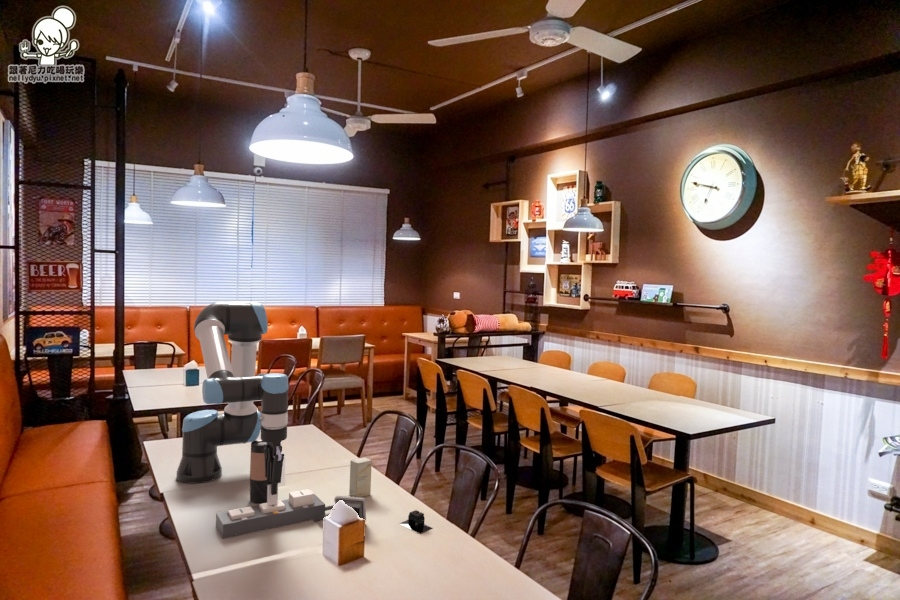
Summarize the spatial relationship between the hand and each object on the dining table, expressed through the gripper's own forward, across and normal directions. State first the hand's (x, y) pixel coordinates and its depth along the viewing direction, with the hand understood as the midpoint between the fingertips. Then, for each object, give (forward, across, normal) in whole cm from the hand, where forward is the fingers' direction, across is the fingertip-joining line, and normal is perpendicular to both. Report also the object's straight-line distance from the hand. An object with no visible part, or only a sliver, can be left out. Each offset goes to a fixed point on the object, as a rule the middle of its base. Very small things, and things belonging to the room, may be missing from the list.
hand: (272, 503), depth 173 cm
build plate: (+7, +21, +38) cm, 44 cm away
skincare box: (+7, -9, +33) cm, 35 cm away
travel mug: (+7, -18, +2) cm, 19 cm away
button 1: (+6, 0, -9) cm, 11 cm away
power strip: (+7, 0, +3) cm, 7 cm away
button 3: (+4, 0, +9) cm, 10 cm away
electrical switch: (+7, +12, +20) cm, 24 cm away
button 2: (+5, 0, 0) cm, 5 cm away
